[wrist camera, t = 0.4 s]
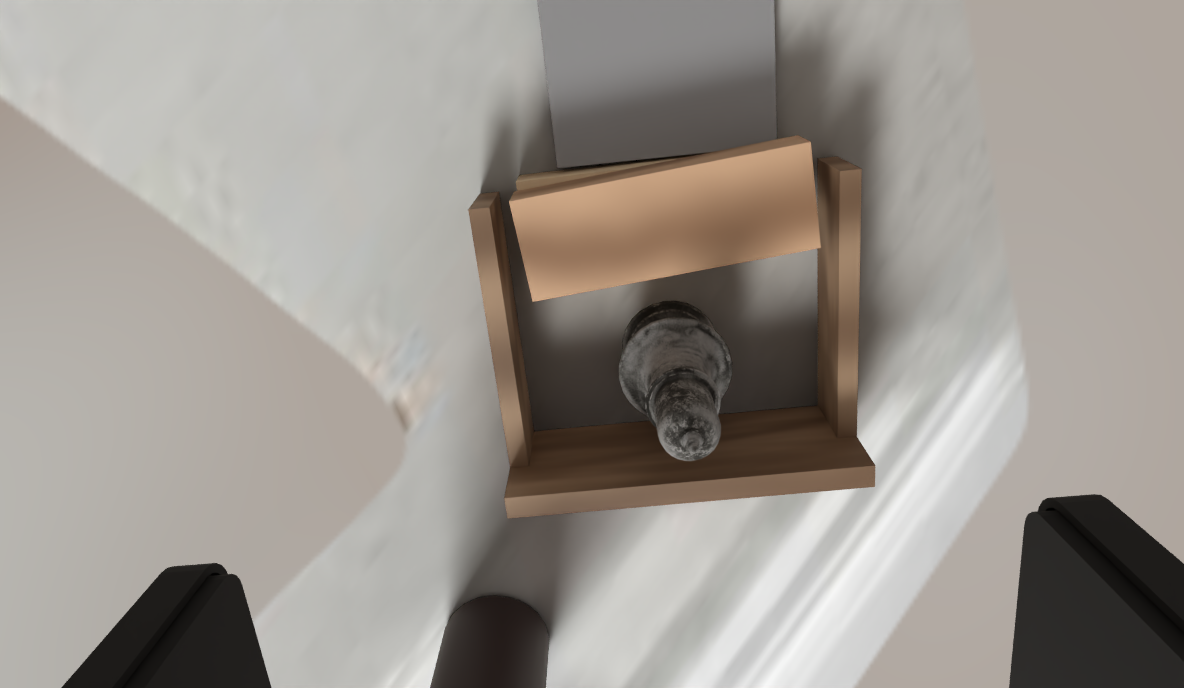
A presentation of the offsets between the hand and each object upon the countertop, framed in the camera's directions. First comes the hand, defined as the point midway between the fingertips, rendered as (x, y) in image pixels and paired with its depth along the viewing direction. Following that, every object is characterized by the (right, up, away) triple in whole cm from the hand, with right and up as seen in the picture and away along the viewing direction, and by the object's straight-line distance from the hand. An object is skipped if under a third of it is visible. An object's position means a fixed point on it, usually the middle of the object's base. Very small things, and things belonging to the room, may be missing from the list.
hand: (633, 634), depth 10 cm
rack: (+4, +5, +34) cm, 35 cm away
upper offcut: (+3, +10, +30) cm, 32 cm away
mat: (+3, +18, +29) cm, 34 cm away
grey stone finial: (+4, +3, +35) cm, 35 cm away
